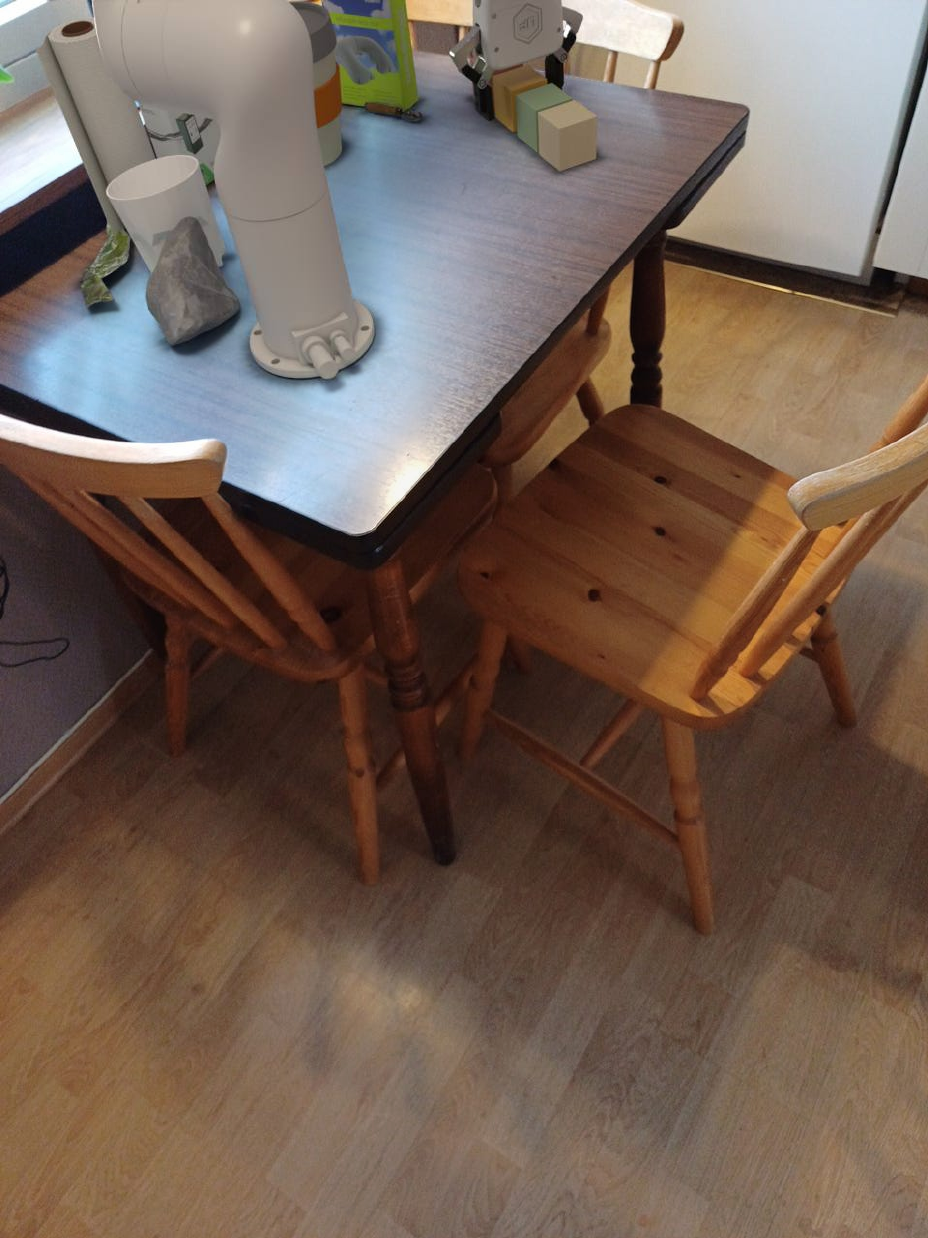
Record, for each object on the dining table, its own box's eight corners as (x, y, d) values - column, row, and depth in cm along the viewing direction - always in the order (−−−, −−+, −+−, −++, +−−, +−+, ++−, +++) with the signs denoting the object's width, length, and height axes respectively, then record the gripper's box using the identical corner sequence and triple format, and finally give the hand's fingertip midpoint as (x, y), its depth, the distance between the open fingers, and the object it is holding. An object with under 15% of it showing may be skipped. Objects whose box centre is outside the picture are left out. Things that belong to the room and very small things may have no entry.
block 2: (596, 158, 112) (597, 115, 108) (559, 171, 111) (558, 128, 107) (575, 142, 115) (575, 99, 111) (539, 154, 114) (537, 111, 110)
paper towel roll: (175, 206, 114) (105, 9, 97) (179, 231, 111) (107, 32, 94) (116, 220, 114) (35, 24, 97) (118, 246, 110) (34, 47, 93)
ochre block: (548, 120, 119) (547, 78, 115) (513, 132, 118) (511, 90, 114) (529, 105, 122) (527, 64, 118) (494, 117, 121) (492, 75, 117)
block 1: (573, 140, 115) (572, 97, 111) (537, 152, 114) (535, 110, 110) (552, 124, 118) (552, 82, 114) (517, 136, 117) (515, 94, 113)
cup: (251, 251, 105) (217, 160, 98) (182, 296, 101) (141, 205, 93) (198, 237, 110) (162, 150, 103) (131, 279, 106) (88, 192, 99)
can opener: (364, 112, 125) (362, 103, 124) (374, 104, 126) (373, 95, 125) (419, 125, 121) (418, 116, 120) (429, 117, 122) (428, 108, 121)
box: (338, 104, 127) (309, -45, 113) (353, 90, 129) (327, -58, 116) (406, 114, 124) (385, -39, 110) (421, 100, 126) (402, -52, 112)
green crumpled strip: (113, 299, 100) (117, 321, 102) (169, 192, 117) (172, 212, 119) (52, 292, 100) (57, 314, 102) (117, 185, 116) (120, 206, 118)
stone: (192, 310, 106) (109, 281, 98) (241, 228, 101) (157, 191, 93) (231, 382, 101) (146, 357, 93) (284, 299, 95) (200, 266, 88)
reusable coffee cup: (261, 187, 116) (225, 55, 104) (255, 139, 123) (221, 11, 111) (362, 167, 116) (338, 34, 104) (350, 121, 124) (326, -8, 112)
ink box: (193, 196, 116) (159, 95, 107) (165, 187, 118) (129, 88, 109) (240, 163, 120) (212, 63, 110) (212, 155, 122) (182, 56, 112)
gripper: (458, -24, 101) (471, 137, 115) (598, -66, 104) (595, 96, 118) (428, -44, 105) (445, 114, 119) (564, -83, 109) (565, 75, 122)
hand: (520, 105), depth 118 cm, fingers open, 9 cm apart
